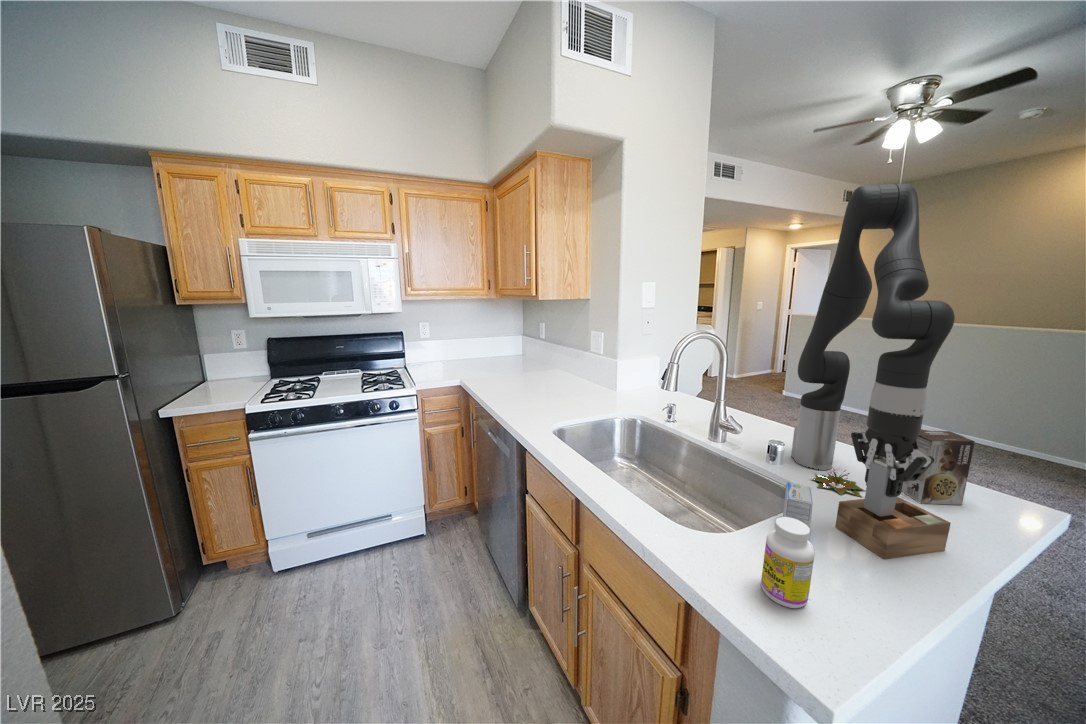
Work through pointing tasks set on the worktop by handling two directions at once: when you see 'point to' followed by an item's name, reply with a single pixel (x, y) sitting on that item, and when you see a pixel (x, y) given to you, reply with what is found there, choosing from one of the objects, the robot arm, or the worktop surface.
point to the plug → (879, 489)
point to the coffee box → (942, 468)
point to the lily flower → (848, 485)
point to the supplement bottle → (788, 563)
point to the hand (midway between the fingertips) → (881, 490)
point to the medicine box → (798, 503)
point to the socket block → (893, 529)
